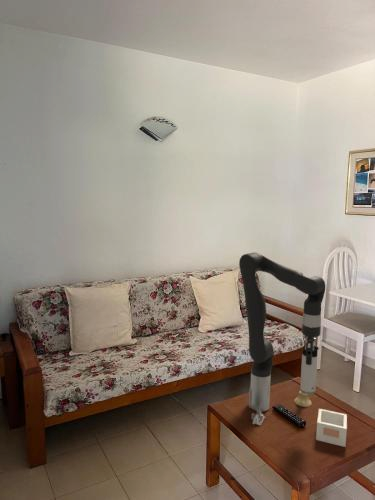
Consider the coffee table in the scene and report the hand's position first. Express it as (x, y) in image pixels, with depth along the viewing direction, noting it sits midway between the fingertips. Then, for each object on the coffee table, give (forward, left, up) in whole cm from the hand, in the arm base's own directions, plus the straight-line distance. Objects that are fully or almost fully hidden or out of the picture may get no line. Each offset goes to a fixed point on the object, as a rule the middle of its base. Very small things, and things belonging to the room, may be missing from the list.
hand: (309, 361), depth 162 cm
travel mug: (0, 0, -14) cm, 14 cm away
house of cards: (-22, -1, -32) cm, 39 cm away
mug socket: (+11, 0, -32) cm, 33 cm away
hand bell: (-3, +23, -32) cm, 40 cm away
